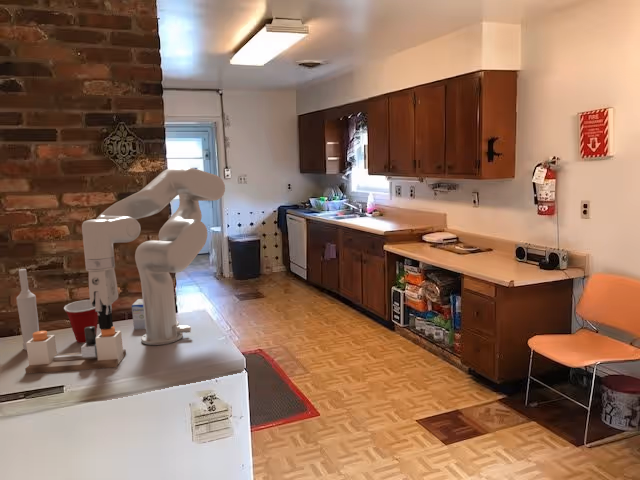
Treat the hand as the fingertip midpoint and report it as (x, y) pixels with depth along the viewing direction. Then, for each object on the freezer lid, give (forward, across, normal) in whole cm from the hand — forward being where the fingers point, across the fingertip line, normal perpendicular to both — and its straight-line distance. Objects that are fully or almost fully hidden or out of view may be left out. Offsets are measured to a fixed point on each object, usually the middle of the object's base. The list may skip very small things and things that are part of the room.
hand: (106, 327), depth 148 cm
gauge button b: (+2, 0, +18) cm, 18 cm away
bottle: (+10, +18, +29) cm, 35 cm away
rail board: (+10, 0, +9) cm, 14 cm away
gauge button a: (+2, 0, 0) cm, 2 cm away
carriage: (+7, 0, +5) cm, 9 cm away
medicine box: (+10, +34, -1) cm, 35 cm away
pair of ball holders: (+10, 0, +9) cm, 14 cm away
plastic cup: (+10, +22, +14) cm, 28 cm away
